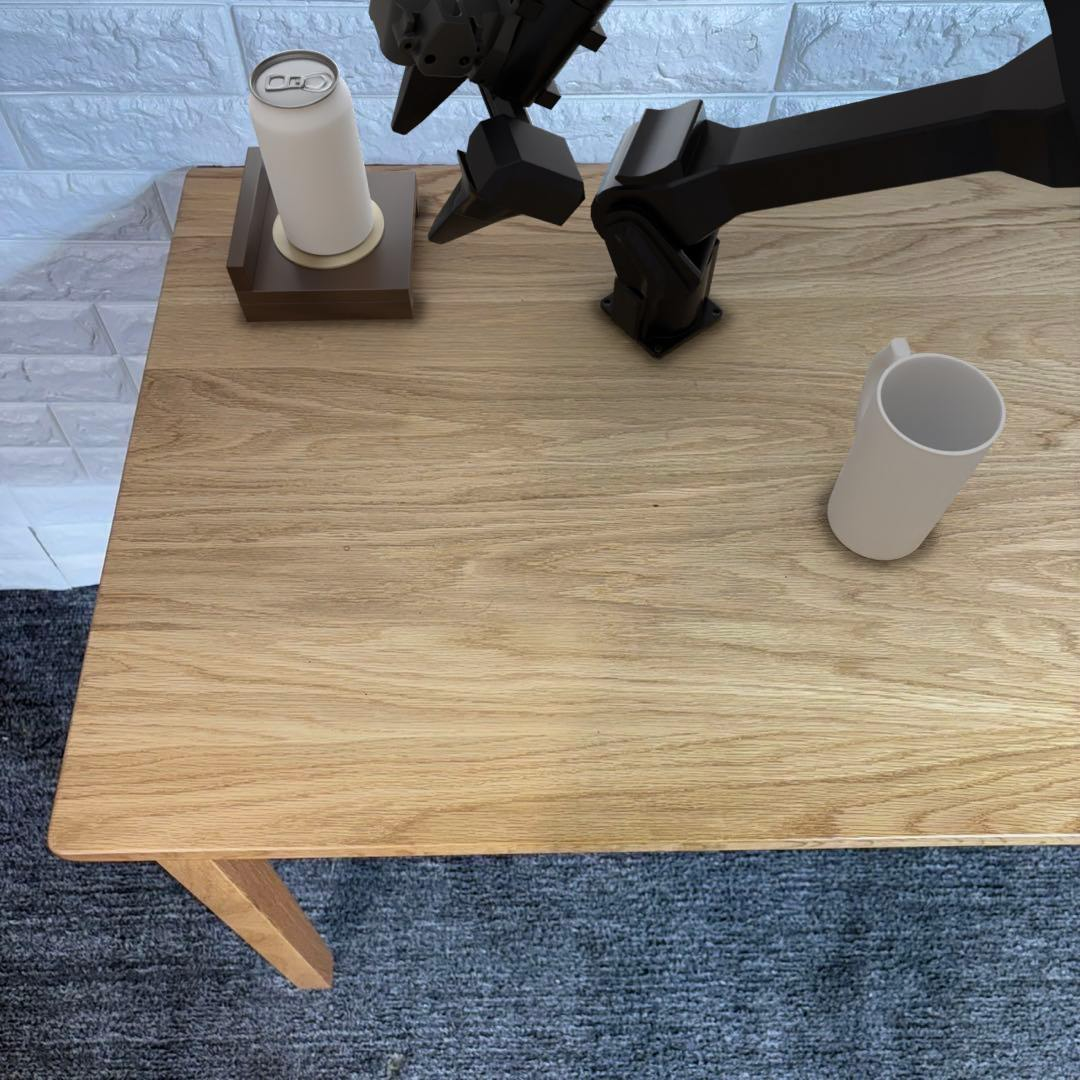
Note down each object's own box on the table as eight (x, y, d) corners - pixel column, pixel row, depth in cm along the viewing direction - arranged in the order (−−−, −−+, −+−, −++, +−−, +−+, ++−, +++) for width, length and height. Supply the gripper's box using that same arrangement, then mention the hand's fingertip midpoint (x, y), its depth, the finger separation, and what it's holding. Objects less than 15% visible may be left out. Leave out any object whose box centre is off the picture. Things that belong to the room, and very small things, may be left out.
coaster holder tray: (419, 201, 78) (411, 143, 73) (413, 318, 72) (404, 263, 67) (265, 204, 78) (247, 146, 73) (246, 321, 72) (225, 266, 67)
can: (372, 258, 70) (342, 110, 60) (280, 260, 70) (234, 112, 60) (377, 194, 74) (350, 43, 63) (289, 196, 74) (247, 45, 63)
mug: (946, 557, 62) (1027, 445, 52) (842, 573, 62) (902, 463, 51) (891, 427, 67) (954, 301, 57) (794, 441, 66) (840, 316, 56)
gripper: (391, -215, 50) (265, 35, 61) (494, 38, 43) (332, 274, 53) (555, -114, 58) (418, 95, 68) (667, 117, 51) (495, 311, 61)
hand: (415, 184), depth 62 cm, fingers open, 9 cm apart
